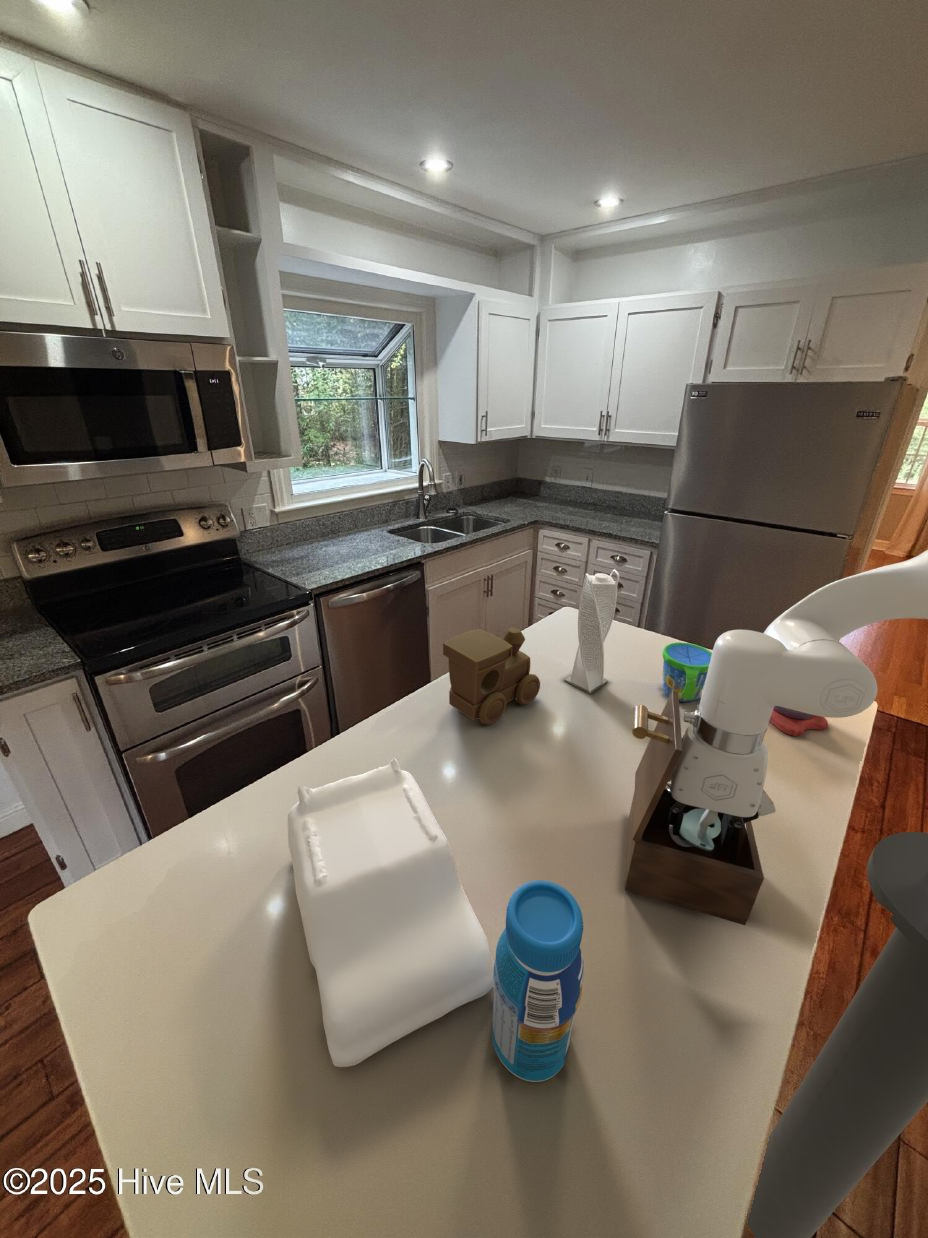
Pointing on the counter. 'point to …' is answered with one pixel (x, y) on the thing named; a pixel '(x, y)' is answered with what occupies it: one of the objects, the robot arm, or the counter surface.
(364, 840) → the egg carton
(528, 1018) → the beverage bottle
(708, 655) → the snack cup
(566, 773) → the counter surface
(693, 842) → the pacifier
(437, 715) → the counter surface
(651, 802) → the lid
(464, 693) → the wooden toy train
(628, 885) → the chest
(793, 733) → the stacking bear
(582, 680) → the skyscraper
